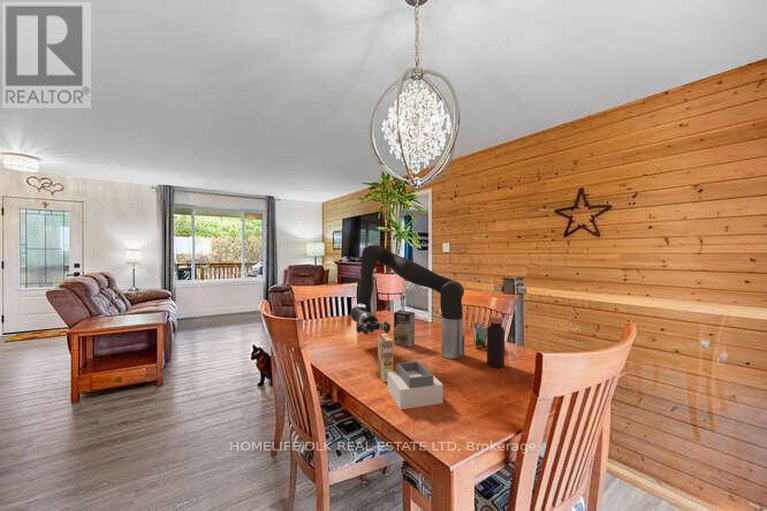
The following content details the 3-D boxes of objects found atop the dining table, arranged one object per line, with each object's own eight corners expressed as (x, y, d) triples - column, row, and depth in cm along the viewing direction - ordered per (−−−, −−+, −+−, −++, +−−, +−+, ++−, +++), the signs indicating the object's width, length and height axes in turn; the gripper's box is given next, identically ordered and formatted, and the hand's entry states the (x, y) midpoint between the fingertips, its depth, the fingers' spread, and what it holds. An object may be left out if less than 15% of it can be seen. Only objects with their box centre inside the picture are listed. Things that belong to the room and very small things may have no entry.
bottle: (506, 364, 132) (507, 316, 131) (500, 369, 127) (500, 319, 126) (491, 360, 137) (491, 314, 136) (484, 365, 132) (484, 317, 131)
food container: (489, 350, 150) (489, 329, 149) (475, 350, 151) (476, 329, 150) (486, 342, 162) (486, 323, 161) (473, 342, 163) (474, 322, 163)
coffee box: (393, 344, 160) (392, 312, 160) (399, 340, 166) (399, 310, 165) (409, 347, 155) (409, 314, 155) (415, 343, 161) (415, 312, 160)
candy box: (393, 381, 117) (393, 339, 116) (382, 382, 116) (382, 340, 115) (387, 372, 125) (387, 333, 125) (377, 373, 124) (377, 334, 124)
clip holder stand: (425, 384, 114) (425, 359, 114) (442, 403, 101) (442, 375, 100) (387, 389, 110) (387, 363, 110) (400, 409, 97) (400, 380, 96)
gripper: (353, 314, 144) (360, 323, 129) (383, 313, 148) (393, 321, 132) (352, 330, 145) (359, 341, 129) (383, 329, 148) (393, 339, 133)
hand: (377, 331), depth 131 cm, fingers open, 8 cm apart
